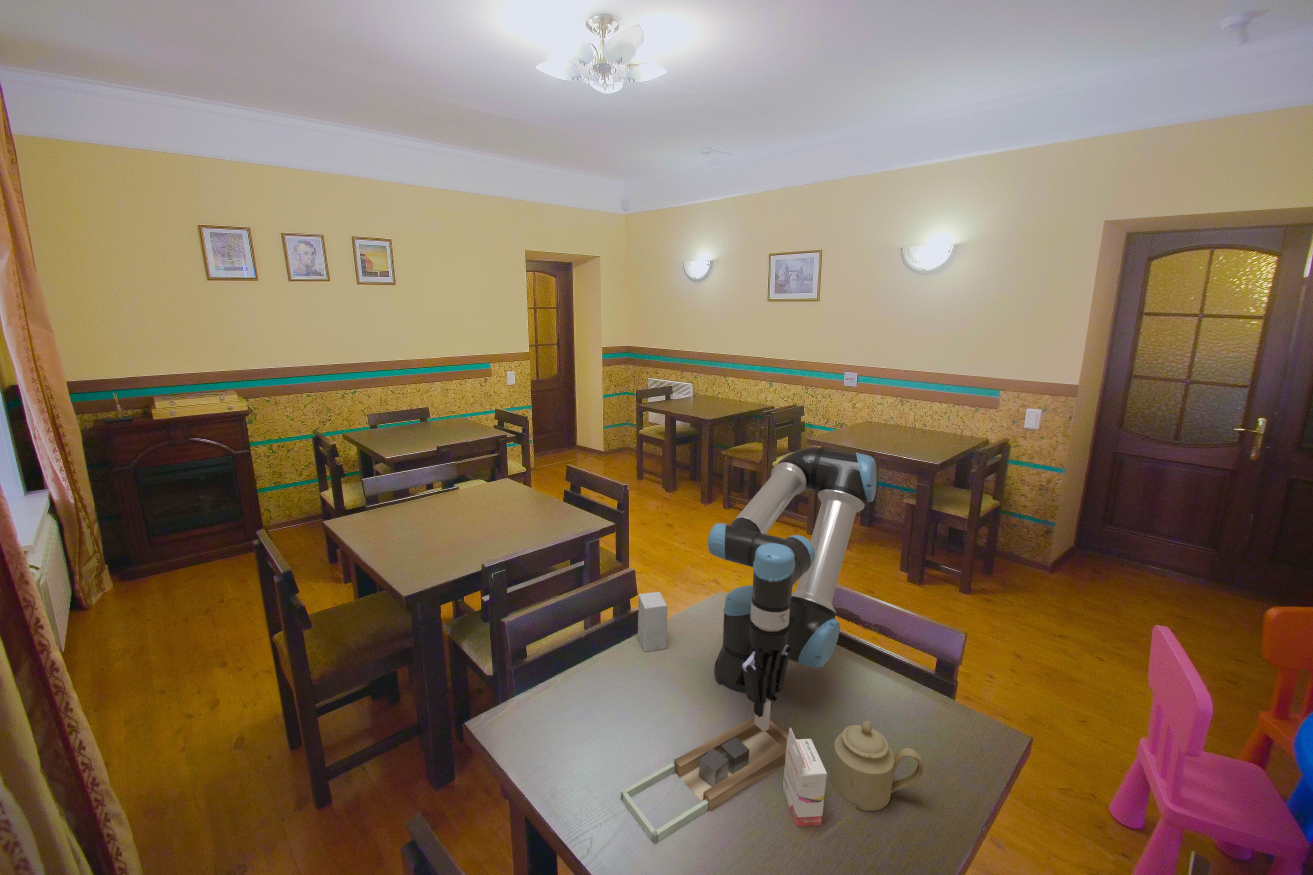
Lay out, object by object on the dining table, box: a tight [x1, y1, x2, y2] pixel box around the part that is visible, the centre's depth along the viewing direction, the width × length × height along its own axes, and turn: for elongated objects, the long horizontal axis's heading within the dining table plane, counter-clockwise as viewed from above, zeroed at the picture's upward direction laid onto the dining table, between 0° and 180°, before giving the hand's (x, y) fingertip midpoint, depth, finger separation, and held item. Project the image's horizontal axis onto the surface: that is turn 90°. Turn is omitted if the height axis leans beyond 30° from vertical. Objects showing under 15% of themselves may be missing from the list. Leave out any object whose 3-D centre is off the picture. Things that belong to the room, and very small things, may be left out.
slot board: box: [673, 715, 789, 812], centre depth 113 cm, size 11×24×4 cm, turn 125°
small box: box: [637, 591, 668, 652], centre depth 153 cm, size 8×6×13 cm
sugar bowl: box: [830, 720, 925, 812], centre depth 107 cm, size 15×11×15 cm
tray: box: [620, 762, 709, 845], centre depth 103 cm, size 11×12×2 cm
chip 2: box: [720, 737, 749, 774], centre depth 112 cm, size 4×4×4 cm
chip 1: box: [699, 749, 729, 787], centre depth 109 cm, size 4×4×4 cm
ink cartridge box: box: [782, 726, 828, 827], centre depth 102 cm, size 9×5×15 cm, turn 5°
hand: (761, 726), depth 115 cm, fingers closed
